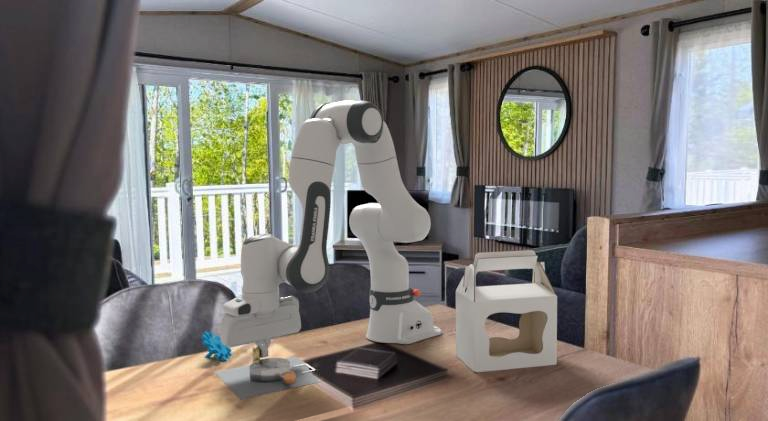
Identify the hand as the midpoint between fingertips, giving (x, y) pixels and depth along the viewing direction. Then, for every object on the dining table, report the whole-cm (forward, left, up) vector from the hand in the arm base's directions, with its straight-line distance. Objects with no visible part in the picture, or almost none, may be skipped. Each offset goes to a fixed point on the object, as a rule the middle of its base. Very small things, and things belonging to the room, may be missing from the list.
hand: (263, 356), depth 143 cm
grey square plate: (+1, +7, -3) cm, 8 cm away
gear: (+7, -14, -4) cm, 16 cm away
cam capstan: (+1, +8, -2) cm, 9 cm away
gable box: (-54, +27, -4) cm, 61 cm away
